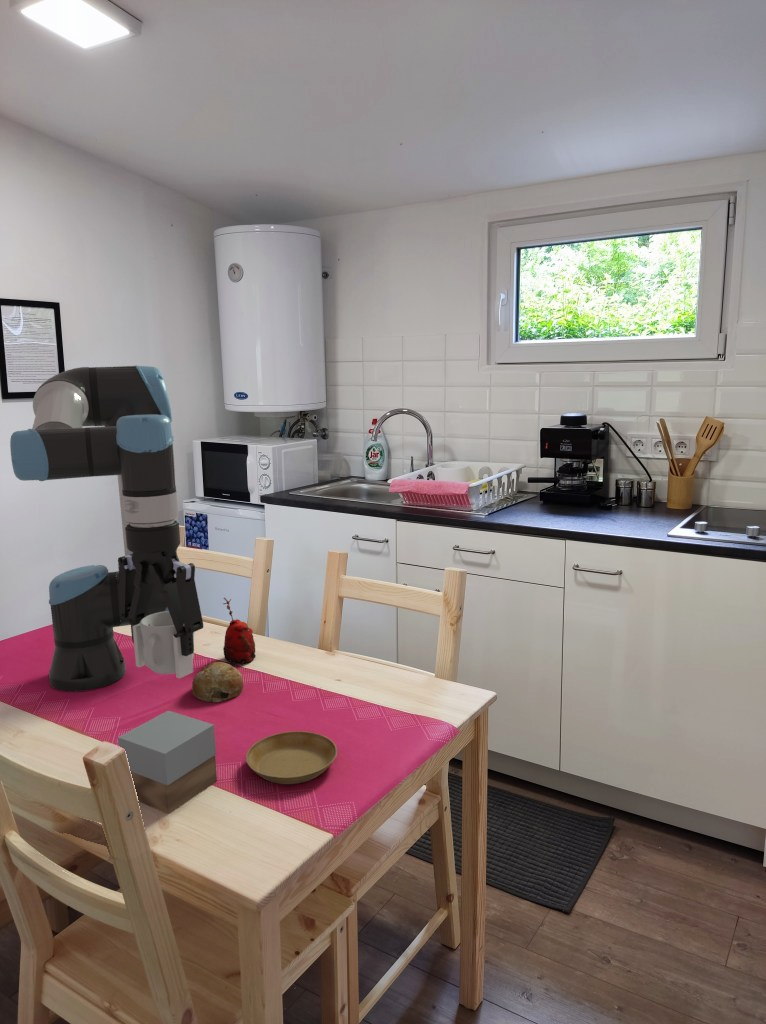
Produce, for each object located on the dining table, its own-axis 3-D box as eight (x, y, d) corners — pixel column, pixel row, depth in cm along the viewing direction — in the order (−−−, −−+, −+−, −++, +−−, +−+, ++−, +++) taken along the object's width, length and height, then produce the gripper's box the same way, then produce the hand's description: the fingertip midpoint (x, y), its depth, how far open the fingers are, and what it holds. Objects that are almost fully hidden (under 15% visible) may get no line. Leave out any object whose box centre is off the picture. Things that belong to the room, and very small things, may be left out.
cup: (175, 688, 106) (170, 635, 105) (124, 685, 108) (119, 633, 106) (206, 659, 116) (203, 610, 115) (160, 657, 118) (155, 609, 117)
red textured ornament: (259, 662, 164) (255, 597, 161) (227, 668, 161) (223, 602, 158) (251, 651, 171) (248, 588, 168) (221, 656, 168) (216, 592, 165)
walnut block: (123, 796, 114) (120, 766, 113) (172, 766, 122) (170, 738, 121) (168, 815, 109) (166, 784, 108) (217, 782, 117) (215, 753, 116)
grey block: (120, 767, 113) (117, 737, 112) (170, 738, 121) (168, 710, 120) (167, 785, 108) (164, 753, 107) (216, 754, 116) (213, 724, 115)
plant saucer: (294, 735, 131) (293, 722, 131) (356, 762, 122) (355, 748, 122) (227, 771, 120) (226, 756, 120) (290, 803, 111) (289, 788, 111)
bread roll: (198, 721, 145) (199, 693, 141) (185, 682, 152) (186, 655, 148) (247, 709, 150) (250, 682, 145) (232, 672, 157) (235, 645, 152)
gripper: (83, 520, 110) (98, 665, 114) (184, 533, 99) (196, 692, 104) (124, 511, 116) (137, 648, 121) (223, 523, 106) (233, 673, 110)
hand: (164, 668), depth 112 cm, fingers closed on cup, 8 cm apart
